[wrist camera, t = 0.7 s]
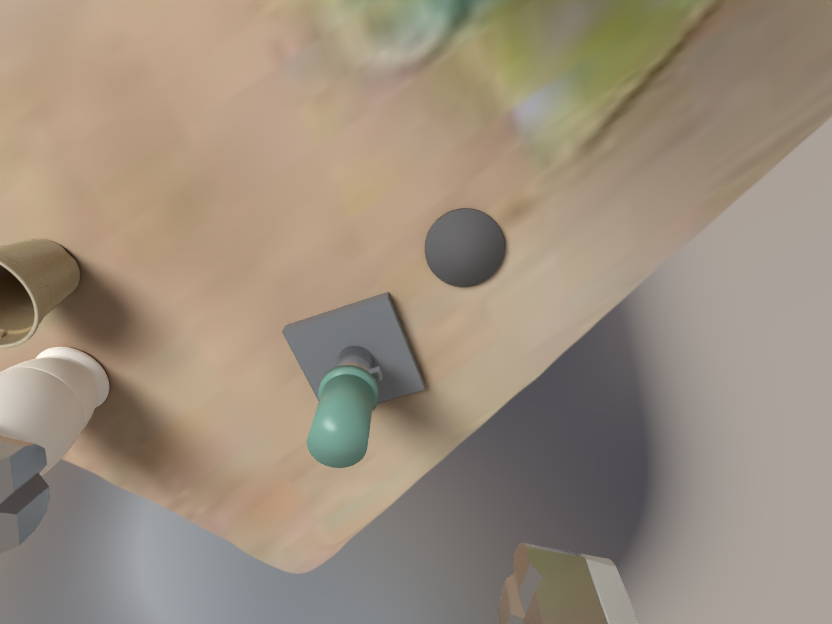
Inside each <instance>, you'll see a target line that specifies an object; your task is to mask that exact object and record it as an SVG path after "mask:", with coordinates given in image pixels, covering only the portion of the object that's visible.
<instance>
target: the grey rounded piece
mask: <svg viewBox="0 0 832 624" xmlns="http://www.w3.org/2000/svg"><path fill="white" fill-rule="evenodd" d="M342 365H353V366H358V367H361V368H363V369H365V370H366V371H368V372H369V373H370V374H371V375H372V376H373V377H374V378H375V380H376V381H379V380H382V375H383V374H382V372H381V369H380V367H375V368H373V366H374V359H373V356H372V354H371V353H370V352H369V351H368V350H367V349H365V348H363V347H361V346H349V347H346V348H345V349H343V350H342V351H341V352H340V354H339V356H338V359H337V362H336V365H335V367H338V366H342Z"/></svg>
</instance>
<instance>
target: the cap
mask: <svg viewBox="0 0 832 624" xmlns="http://www.w3.org/2000/svg"><path fill="white" fill-rule="evenodd" d="M378 393H379V388H378V384H377V382H376V380H375V378H374V377H373V376H372V375H371V374H370V373H369V372H368V371H366V370H365V369H363V368H361V367H358V366H353V365H342V366H338V367H335V368H333V369H331V370H330V371H328V372H327V373H326V374H325V375H324V377H323V379H322V381H321V384H320V387H319V391H318V397H319V404H318V407H317V410H316V413H315V416H314V420H313V423H312V426H311V429H310V432H309V436H308V440H307V446H308V450H309V452H310V453H311V455H312V456H313V457H314V458H315V459H316V460H317V461H318V462H320V463H322V464H324V465H326V466H329V467H335V468H344V467H349V466H352V465H354V464H356V463H358V462H359V461H360V460H361V459H362V458H363V457H364V455H365V453H366V451H367V445H368V438H369V430H370V423H371V415H372V411H373V410H374V408H375V407H376V404H377V401H378Z"/></svg>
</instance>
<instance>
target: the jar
mask: <svg viewBox="0 0 832 624" xmlns="http://www.w3.org/2000/svg"><path fill="white" fill-rule="evenodd" d="M108 394H109V380H108V377H107V375H106V373H105V371H104V369H103V368H102V367H101V365H100V364H99V363H98V362H97V361H96V360H94V359H93V358H92V357H90V356H89V355H87V354H86V353H84V352H82V351H79V350H77V349H73V348H69V347H53V348H49V349H47V350H45V351H43V352H41V353H40V354H39V355H38V356H37V357H36V359H33V360H28V361H25V362H22V363H19V364H17V365H14V366H12V367H10V368H8V369H6V370H4V371H1V372H0V436H4V437H9V438H13V439H17V440H22V441H26V442H30V443H35V444H37V445H39V446H41V447H43V448H45V452H46V459H47V466H46V467H45V468H44V469H43V470H42V471H41V472H40V473H39V474H40V475H41V476H42V475H43V474H45V473H46V472H47V471H48V470H49V469H50V468H52V467H53V466H54V465H55V464H56V463H57V462H58V461H59V460H60V459H61V458H62V457H63V456H64V455H65V454H66V453H67V451H68V450H69V449H70V448H71V446H72V445H73V444H74V442H75V441H76V439H77V438H78V436H79V434H80V433H81V432H82V430H83V429H84V428H85V426H86V425H87V423H88V422H89V420H90V418H91V417H92V414H93V412H94V409H95V408H96V407H98V406H100V405H101V404H102V403H103V402H104V401H105V400H106V398H107V396H108Z"/></svg>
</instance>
